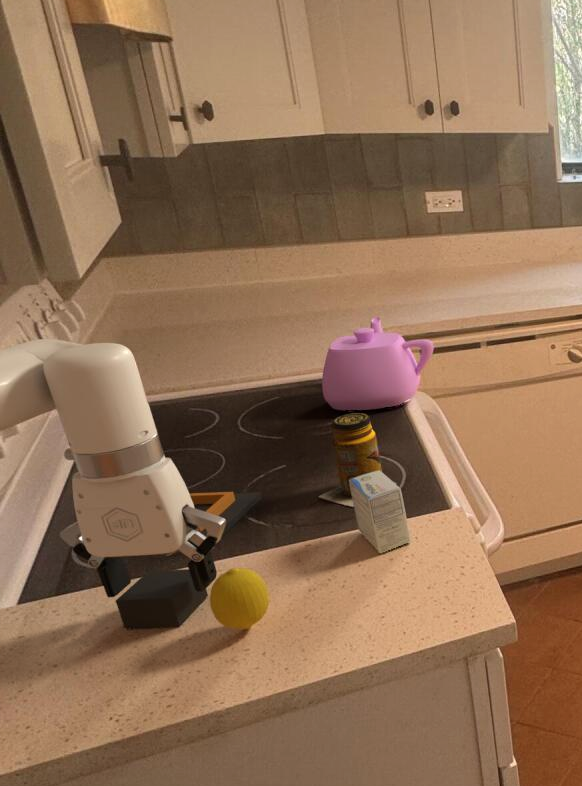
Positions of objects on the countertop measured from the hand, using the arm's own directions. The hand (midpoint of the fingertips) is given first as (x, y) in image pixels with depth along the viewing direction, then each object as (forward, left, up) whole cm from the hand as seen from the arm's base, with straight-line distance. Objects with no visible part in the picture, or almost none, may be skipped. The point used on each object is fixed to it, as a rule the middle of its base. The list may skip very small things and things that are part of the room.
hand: (163, 587), depth 92 cm
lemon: (+11, -4, -4) cm, 12 cm away
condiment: (+11, +30, -4) cm, 32 cm away
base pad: (-10, +22, -4) cm, 25 cm away
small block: (0, 0, -4) cm, 4 cm away
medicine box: (+20, +15, -4) cm, 25 cm away
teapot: (-1, +71, -4) cm, 71 cm away
